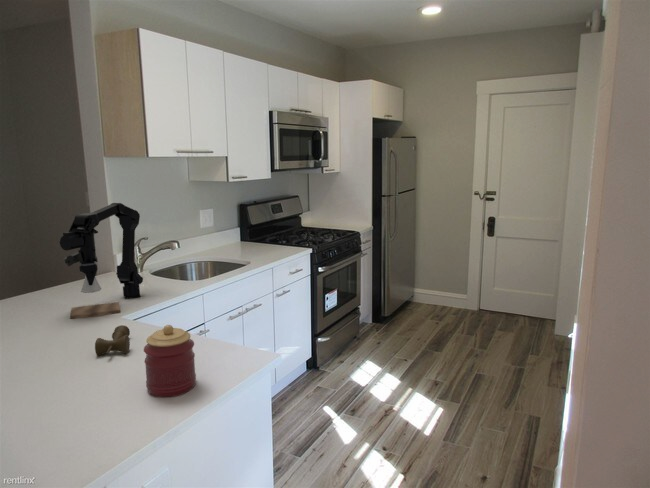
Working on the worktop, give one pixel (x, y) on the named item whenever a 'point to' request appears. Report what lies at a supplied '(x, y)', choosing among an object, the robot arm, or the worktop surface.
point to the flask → (90, 286)
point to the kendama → (114, 342)
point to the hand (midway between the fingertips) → (90, 283)
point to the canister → (169, 362)
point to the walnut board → (94, 310)
